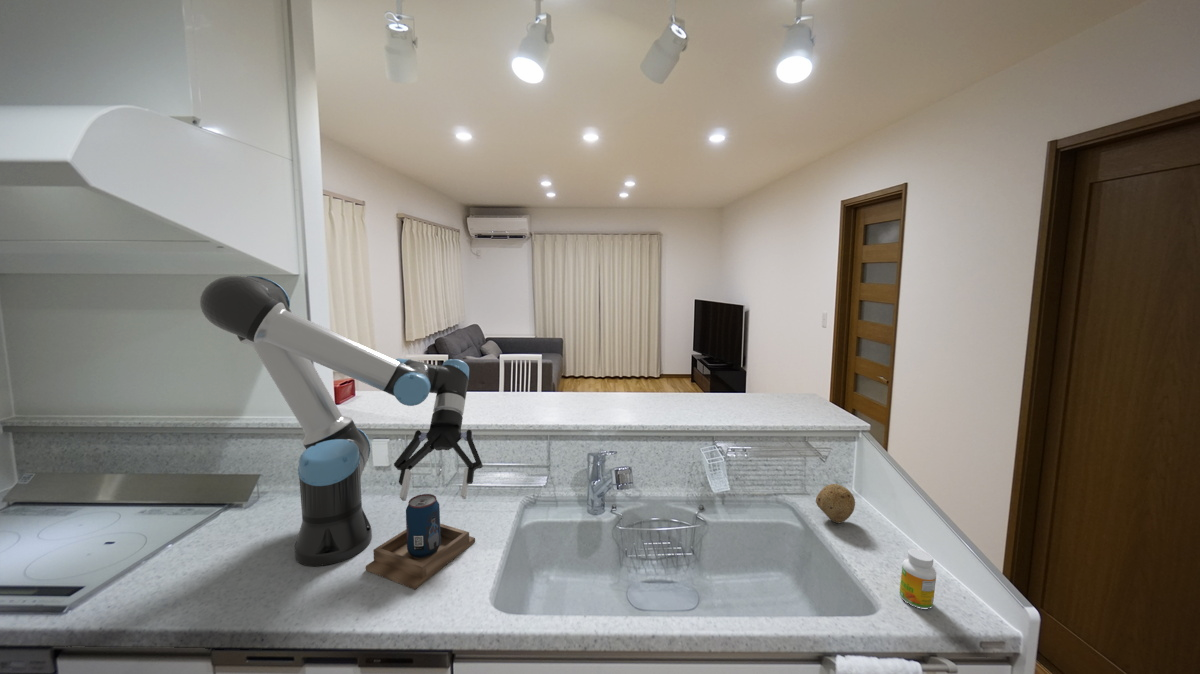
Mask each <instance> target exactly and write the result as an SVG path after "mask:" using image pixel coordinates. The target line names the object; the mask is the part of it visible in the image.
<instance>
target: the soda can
mask: <svg viewBox="0 0 1200 674" xmlns="http://www.w3.org/2000/svg"><path fill="white" fill-rule="evenodd" d="M440 511H441V509H440V503H439V501H438V499H437V496H436V495H434V494H430V493H425V494H424V493H423V494H419V495H415V496H413V497H411V498H410V499H409V500H408V505H407V507H406V509H405V525H406V527H405V530H407V550H408V552H409V553H410V555H411V556H412V557H414V558H419V559H420V558H426V557H429V556H431V555H433V554H434V553H435V552H436V551H437V550H438V548H439V546H440V543H441V539H440V524H441V518H440V517H441V512H440Z"/></svg>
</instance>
